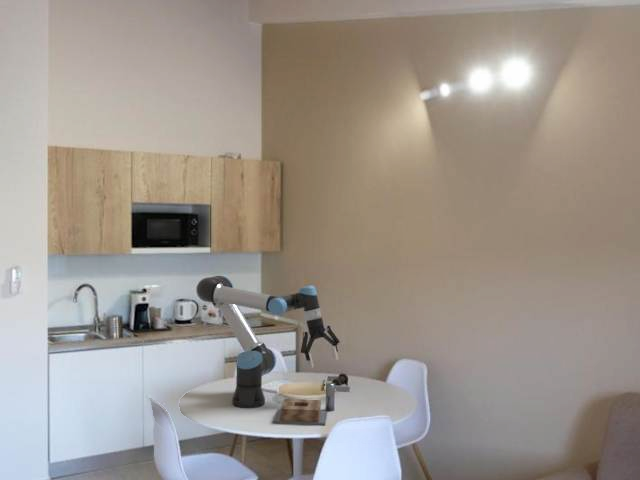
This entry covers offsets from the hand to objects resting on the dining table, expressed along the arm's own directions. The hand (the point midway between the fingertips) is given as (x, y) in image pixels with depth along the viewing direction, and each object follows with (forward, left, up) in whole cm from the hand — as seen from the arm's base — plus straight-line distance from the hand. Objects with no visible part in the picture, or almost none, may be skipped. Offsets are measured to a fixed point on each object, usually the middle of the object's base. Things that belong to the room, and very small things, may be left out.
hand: (324, 363), depth 315 cm
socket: (-8, -23, -19) cm, 31 cm away
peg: (+4, -9, -19) cm, 22 cm away
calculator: (-24, +28, -20) cm, 42 cm away
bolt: (+6, +36, -20) cm, 41 cm away
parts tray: (+6, +36, -19) cm, 41 cm away
